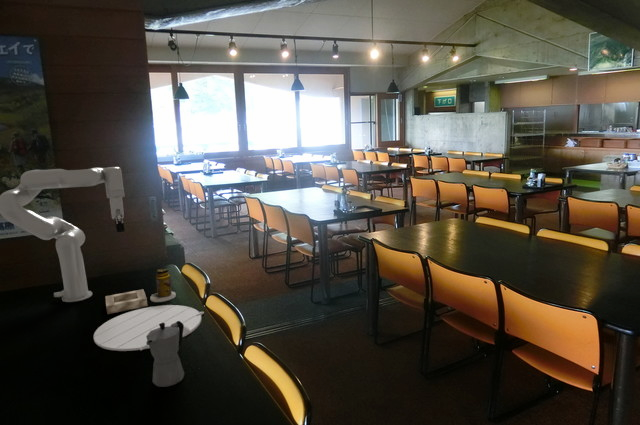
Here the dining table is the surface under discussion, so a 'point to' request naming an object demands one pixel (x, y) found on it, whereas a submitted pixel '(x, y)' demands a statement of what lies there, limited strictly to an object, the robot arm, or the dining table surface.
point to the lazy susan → (143, 326)
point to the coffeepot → (166, 354)
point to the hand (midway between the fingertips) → (120, 229)
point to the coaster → (163, 298)
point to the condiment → (163, 284)
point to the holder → (126, 301)
